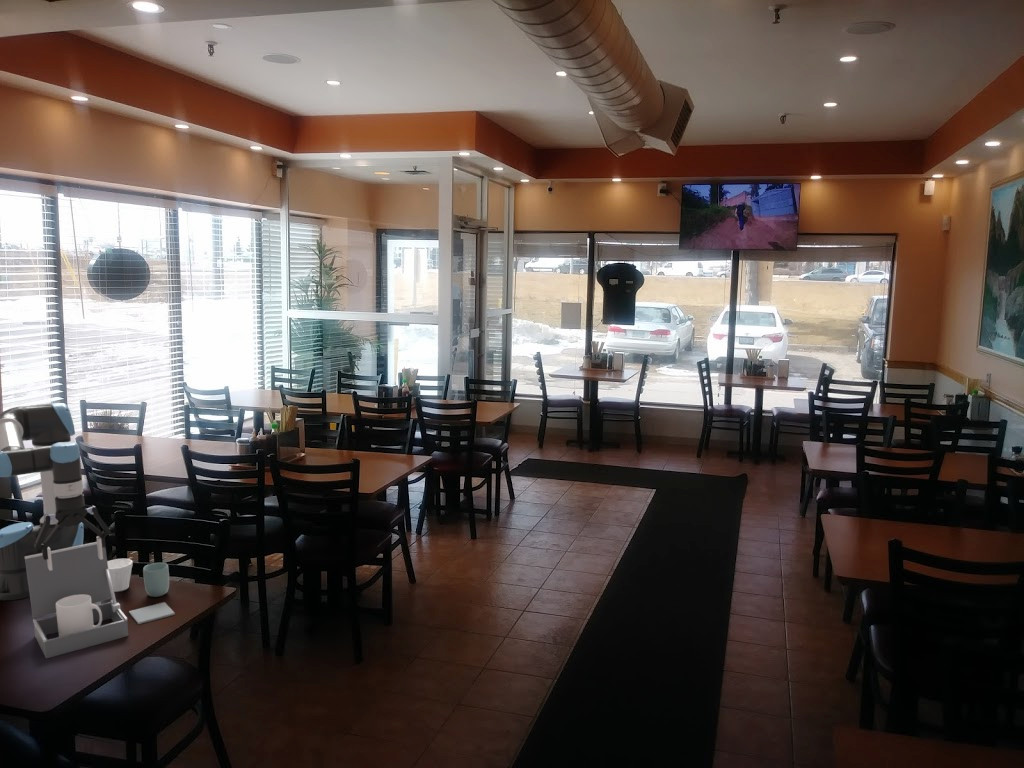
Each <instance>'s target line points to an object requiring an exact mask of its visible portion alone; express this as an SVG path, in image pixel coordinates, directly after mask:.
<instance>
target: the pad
mask: <svg viewBox="0 0 1024 768" xmlns="http://www.w3.org/2000/svg"><path fill="white" fill-rule="evenodd" d="M128 613H129V615H130V617H132V619H134V621H135V622H136V623H137V625H141V624H144V623H150V622H152V621H153V622H154V621H157V620H160V619H163V618H167V617H171V616H175V615H176V613H175V612H174V610H173V609H172V608H171V607H170V606H169V604H167V603H166V602H165V601H163V602H159V603H156V604H153V605H148V606H143V607H140V608H136V609H132V610H129V611H128Z"/></svg>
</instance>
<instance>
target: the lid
mask: <svg viewBox="0 0 1024 768" xmlns="http://www.w3.org/2000/svg"><path fill="white" fill-rule="evenodd" d="M102 552H103V559H101V560H100V559H99V558H98V549H97V541H95V542H89V543H85V544H84V543H83V545H79V546H74V547H69V548H64V549H60V550H55V551H51V559H52V569H53V570H51V571H50V570H49V569H48V564H47V560H44V559H43V556H42V553H40V554H35V555H30V556H25V562H26V569H27V577H28V585H29V592H30V597H29V598H30V607H31V614H32V618H33V619H36V618H39V617H43V616H47V615H51V614H57V613H56V602H57V601H58V600H60V599H62V598H65V597H68V596H72V595H78V594H86V595H89V596H91V602H92V603H96V602H100V601H101V602H104V601H108V600H112V597H111V593H110V589H109V584H108V580H107V576H106V571H105V570H106V569H108V563H107V562H108V557H107V549H106V546H105V547H103V548H102Z"/></svg>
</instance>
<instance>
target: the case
mask: <svg viewBox="0 0 1024 768" xmlns="http://www.w3.org/2000/svg"><path fill="white" fill-rule="evenodd" d="M105 571H106V576H107V580H108V584H109V589H110V593H111V597H112V599H110V601H109V602H106V603H101V605H97V606H98V607H99V608H100V610H101V613H102V622H103V621H106V620H110V619H111V620H112V622H110V623H107V624H101V625H100V626H98V627H95V628H91V629H87V630H83V631H79V632H76V633H72V634H68V635H64V636H60V637H59V636H56V637H54V638H49V639H48V638H47V636H48V635H52V634H56V633H58V623H57V614H56V615H52V616H49V617H46V618H45V617H44V618H41V619H37V620H36V618H33V619H32V622H33V627H34V628H33V629H34V637H35V639H36V641H37V643H38V645H39V647H40V649H41V651H42V653H43V655H44V657H45V659H49V658H53V657H57V656H61V655H64V654H67V653H72V652H74V651H78V650H82V649H86V648H89V647H90V648H91V647H93V646H96V645H100V644H103V643H107V642H111V641H114V640H118V639H121V638H122V639H123V638H125V637H129V628H128V627H129V626H128V617H127V616H126V615H125V613H124V612H123V611H122V610H121V604H120V603H119V602H117V599H116V594H115V592H114V590H113V586H112V581H111V577H110V573H109V569H106V570H105ZM92 612H93V624H94V623H97V622H98V623H99V620H100V616H99V612H98V611H97V609H92Z"/></svg>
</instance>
